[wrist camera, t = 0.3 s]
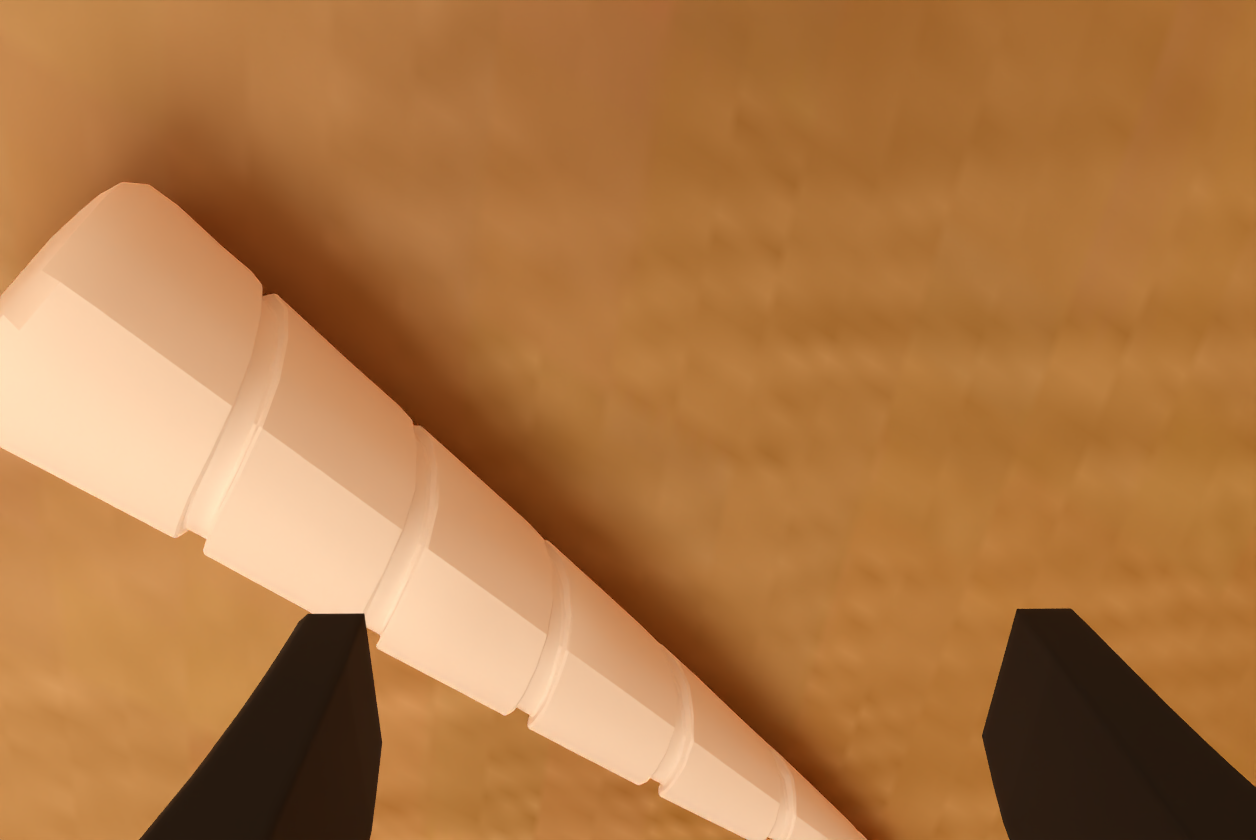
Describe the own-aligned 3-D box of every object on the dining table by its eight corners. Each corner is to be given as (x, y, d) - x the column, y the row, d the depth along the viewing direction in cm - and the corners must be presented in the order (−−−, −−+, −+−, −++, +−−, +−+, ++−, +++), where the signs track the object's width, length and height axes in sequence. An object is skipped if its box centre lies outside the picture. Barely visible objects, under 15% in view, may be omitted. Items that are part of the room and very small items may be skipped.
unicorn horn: (793, 966, 30) (829, 1152, 25) (2, 311, 22) (-144, 415, 18) (945, 868, 28) (1010, 1045, 24) (163, 139, 21) (50, 204, 16)
